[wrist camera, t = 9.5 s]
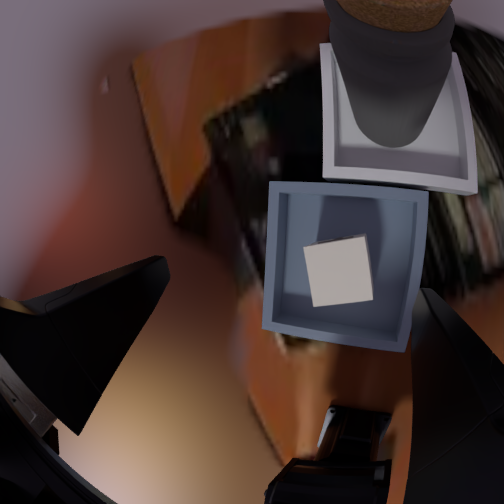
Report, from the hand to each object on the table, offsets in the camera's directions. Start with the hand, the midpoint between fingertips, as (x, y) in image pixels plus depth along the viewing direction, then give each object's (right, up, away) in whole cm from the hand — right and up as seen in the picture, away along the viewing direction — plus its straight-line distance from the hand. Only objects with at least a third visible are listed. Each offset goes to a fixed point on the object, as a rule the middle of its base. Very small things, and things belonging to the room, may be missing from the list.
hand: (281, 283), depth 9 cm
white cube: (+6, 0, +11) cm, 13 cm away
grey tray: (+11, +12, +8) cm, 18 cm away
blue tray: (+6, 0, +12) cm, 13 cm away
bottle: (+10, +12, +8) cm, 17 cm away
